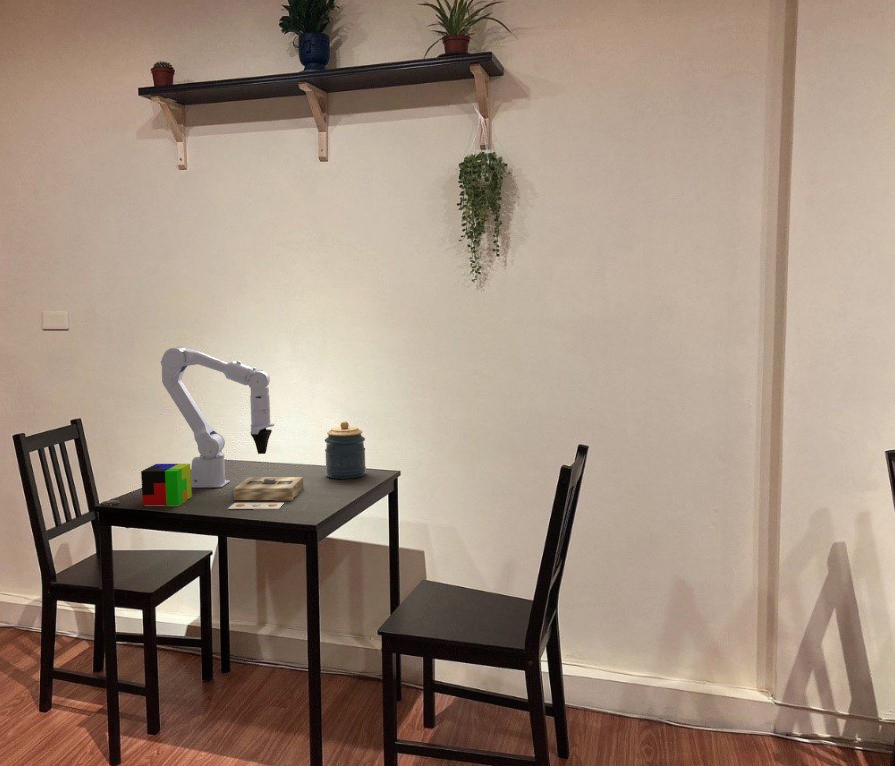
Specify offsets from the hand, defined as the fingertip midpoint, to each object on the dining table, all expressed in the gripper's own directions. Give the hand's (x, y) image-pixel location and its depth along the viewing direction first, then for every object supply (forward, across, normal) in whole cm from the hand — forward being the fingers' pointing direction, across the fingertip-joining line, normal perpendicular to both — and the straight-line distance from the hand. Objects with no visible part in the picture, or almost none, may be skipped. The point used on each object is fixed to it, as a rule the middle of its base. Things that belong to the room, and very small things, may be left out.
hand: (262, 453), depth 235 cm
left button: (+8, -14, -1) cm, 16 cm away
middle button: (+7, -14, -6) cm, 17 cm away
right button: (+8, -14, -11) cm, 19 cm away
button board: (+9, -14, -6) cm, 18 cm away
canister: (+10, +11, -24) cm, 28 cm away
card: (+9, -28, -6) cm, 30 cm away
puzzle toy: (+10, -22, +21) cm, 32 cm away
